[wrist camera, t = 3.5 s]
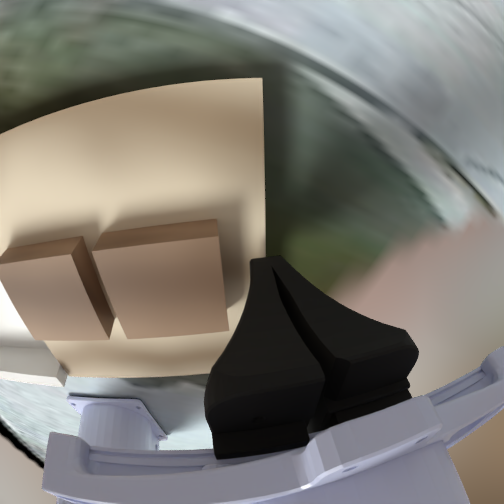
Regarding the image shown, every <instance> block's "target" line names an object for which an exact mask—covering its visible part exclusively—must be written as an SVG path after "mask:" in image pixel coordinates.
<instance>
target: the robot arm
mask: <svg viewBox="0 0 504 504" xmlns="http://www.w3.org/2000/svg"><path fill="white" fill-rule="evenodd" d="M249 264H250V286H249V292H248V296H247V300H246V303H245V307H244V310H243V313H242V315H241V318H240V320H239V323H238V325H237V327H236V329H235V332H234V334H233V335H232V337H231V339H230V341H229V343H228V344H227V346H226V348H225V349H224V351H223V353H222V354H221V355H220V357H219V358H218V360H217V361H216V362H215V364H214V365H213V367H212V368H211V372H210V375H209V378H208V382H207V385H206V390H205V397H204V407H205V417H206V420H207V423H208V425H209V427H210V430H211V432H212V439H213V448H214V449H200V450H159V441H164V440H167V436H166V434H165V433H164V432H163V430H162V429H161V428H160V426H159V425H158V424H157V422H156V421H155V420H154V418H153V417H152V416H151V414H150V413H149V411H148V410H147V409H146V407H145V406H144V404H143V403H142V402H141V401H140V400H138V399H109V398H89V397H75V396H67V399H66V400H67V402H68V403H69V404H70V405H71V406H72V407H73V408H74V409H75V410H76V411H77V412H78V413H79V414H80V415H81V420H80V426H79V433H78V437H77V436H73V435H67V434H61V433H56V432H50V434H49V440H48V445H47V451H46V458H45V465H44V473H43V482H42V489H43V490H44V491H46V492H48V493H50V494H52V495H54V496H57V503H56V504H470V502H469V499H468V496H467V494H466V492H465V489H464V487H463V484H462V482H461V480H460V478H459V475H458V473H457V471H456V468H455V466H454V464H453V462H452V460H451V457H450V455H449V453H448V451H447V449H448V448H450V447H452V446H453V445H455V444H456V443H458V442H459V441H461V440H462V439H464V438H465V437H466V436H468V435H469V434H471V433H472V432H474V431H475V430H476V429H478V428H479V427H480V426H482V425H483V424H484V423H486V422H487V421H488V420H490V419H491V418H492V417H494V416H495V415H496V414H497V413H499V412H500V411H501V410H502V409H503V408H504V346H501V347H500V348H498V349H497V350H495V351H493V352H492V353H490V354H489V355H488V356H487V357H486V358H485V360H484V361H483V362H482V364H481V366H480V367H478V368H477V369H475V370H473V371H471V372H469V373H468V374H466V375H464V376H462V377H460V378H458V379H456V380H455V381H453V382H451V383H449V384H447V385H445V386H443V387H441V388H439V389H437V390H434V391H432V392H430V393H428V394H426V395H424V396H423V395H421V396H418V397H414V398H412V396H411V394H410V393H409V391H408V388H409V387H410V383H409V381H408V379H407V376H408V375H409V373H410V371H411V370H412V368H413V367H414V365H415V363H416V361H417V359H418V355H419V351H418V348H417V346H416V345H415V343H414V342H413V340H412V339H411V337H410V336H409V334H408V333H407V332H406V330H404V329H400V328H397V327H393V326H390V325H387V324H383V323H381V322H378V321H376V320H373V319H370V318H368V317H366V316H363V315H361V314H359V313H357V312H355V311H353V310H351V309H349V308H347V307H345V306H344V305H342V304H340V303H338V302H337V301H335V300H334V299H332V298H330V297H329V296H327V295H326V294H324V293H323V292H322V291H320V290H319V289H318V288H316V287H315V286H314V285H312V284H311V283H310V282H309V281H308V280H306V279H305V278H304V277H303V276H302V275H301V274H300V273H298V272H297V271H296V270H295V269H294V268H293V267H292V266H291V265H290V264H289V263H288V262H287V261H286V260H285V259H284V258H282V257H281V256H272V257H263V258H254V259H251V260H250V261H249Z"/></svg>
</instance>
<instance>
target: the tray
mask: <svg viewBox="0 0 504 504" xmlns="http://www.w3.org/2000/svg"><path fill="white" fill-rule="evenodd" d="M67 375H68V374H67V373H66V371H65V370H64V369H63V367H62V366H61V365H60V363H59V362H58V361H57V359H56V358H55V356H54V355H53V354H52V352H51V351H50V349H49V348H48V346H47V345H46V343H45V342H44V340H35V339H34V338H33V336H32V335H31V333H30V332H29V330H28V329H27V327H26V325H25V324H24V322H23V321H22V319H21V317H20V316H19V314H18V312H17V311H16V309H15V307H14V305H13V304H12V302H11V300H10V298H9V296H8V294H7V293H6V291H5V289H4V287H3V285H2V283H1V281H0V379H5V380H11V381H17V382H24V383H31V384H38V385H47V386H56V387H64V386H65V382H66V379H67Z"/></svg>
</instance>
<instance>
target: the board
mask: <svg viewBox="0 0 504 504" xmlns="http://www.w3.org/2000/svg"><path fill="white" fill-rule="evenodd" d="M208 219H217V227H218V236H219V245H220V255H221V264H222V273H223V282H224V290H225V299H226V307H227V315H228V323H229V331H225V332H216V333H206V334H196V335H185V336H173V337H160V338H144V339H127V337H126V335H125V333H124V331H123V329H122V327H121V324H120V322H119V320H118V318H117V315H116V313H115V311H114V308H113V306H112V304H111V301H110V299H109V296H108V294H107V292H106V289H105V286H104V284H103V281H102V279H101V276H100V273H99V271H98V268H97V265H96V262H95V260H94V257H93V254H92V250H93V248H94V246H95V245H96V243H97V241H98V239H99V238H100V236H101V234H102V233H105V232H112V231H119V230H126V229H134V228H141V227H149V226H157V225H165V224H173V223H181V222H190V221H199V220H208ZM79 236H83V238H84V241H85V244H86V247H87V250H88V253H89V256H90V259H91V262H92V264H93V267H94V270H95V272H96V275H97V278H98V280H99V283H100V285H101V288H102V290H103V293H104V295H105V298H106V300H107V302H108V305H109V307H110V309H111V312H112V314H113V316H114V318H115V320H114V324H113V328H112V332H111V336H110V340H94V341H44V342H45V343H46V345H47V346H48V348H49V349H50V351H51V352H52V354H53V355H54V356H55V358H56V359H57V361H58V362H59V363H60V365H61V366H62V367H63V369H64V370H65V371H66V373H67V374H68V375H69V376H73V377H99V378H139V377H166V376H183V375H196V374H207V373H210V372H211V368H212V367H213V365H214V364H215V362H216V361H217V360H218V358H219V357H220V355H221V354H222V353H223V351H224V349H225V348H226V346H227V344H228V343H229V341H230V339H231V337H232V335H233V334H234V332H235V329H236V327H237V325H238V323H239V320H240V318H241V315H242V313H243V310H244V307H245V303H246V300H247V296H248V292H249V286H250V264H249V261H250V260H251V259H254V258H263V257H266V235H265V168H264V122H263V86H262V78H240V79H222V80H209V81H198V82H189V83H181V84H173V85H166V86H160V87H154V88H148V89H143V90H137V91H132V92H127V93H123V94H118V95H114V96H110V97H106V98H102V99H98V100H94V101H90V102H87V103H83V104H80V105H76V106H73V107H70V108H67V109H64V110H61V111H58V112H55V113H52V114H49V115H46V116H43V117H41V118H38V119H35V120H33V121H30V122H28V123H25V124H23V125H20V126H18V127H16V128H13V129H11V130H9V131H6V132H4V133H2V134H0V256H1V255H2V254H3V253H4V252H5V250H6V249H9V248H14V247H19V246H25V245H30V244H36V243H42V242H48V241H54V240H60V239H66V238H72V237H79Z"/></svg>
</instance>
